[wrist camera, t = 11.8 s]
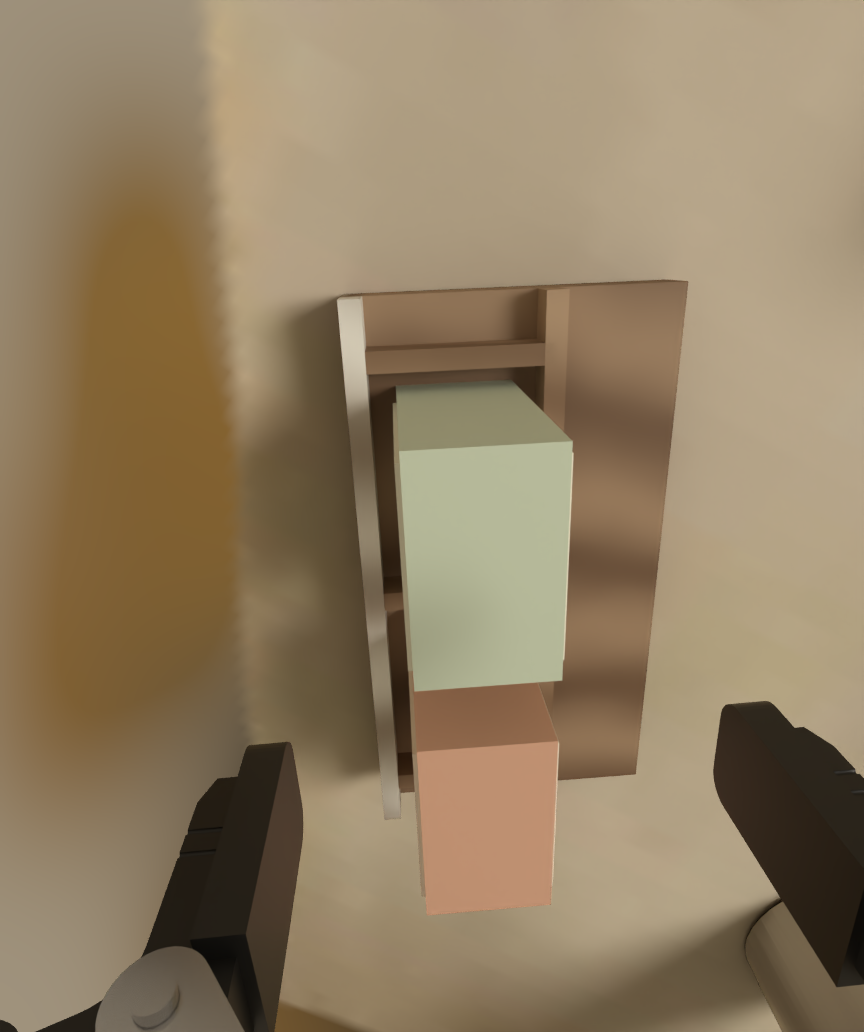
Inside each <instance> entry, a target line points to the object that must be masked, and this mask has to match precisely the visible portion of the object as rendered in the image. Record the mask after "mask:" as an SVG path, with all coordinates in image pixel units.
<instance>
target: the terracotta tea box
mask: <svg viewBox="0 0 864 1032" xmlns="http://www.w3.org/2000/svg"><path fill="white" fill-rule="evenodd" d="M408 672H409V694H410V716H411V737H412V758H413V773H414V788H415V803H416V818H417V833H418V849H419V864H420V879H421V894H422V897H423V896H426V909H427V915H437V914H448V913H460V912H471V911H483V910H494V909H505V908H517V907H528V906H540V905H551V888H552V885H553V866H554V845H555V823H556V801H557V780H558V758H559V741H558V738H557V735H556V733H555V730H554V727H553V724H552V721H551V718H550V715H549V713H548V710H547V707H546V704H545V701H544V698H543V695H542V693H541V690H540V687H539V684H538V682H536V683H522V684H509V685H495V686H482V687H468V688H455V689H441V690H428V691H414V679H413V671H408Z"/></svg>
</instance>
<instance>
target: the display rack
mask: <svg viewBox="0 0 864 1032" xmlns="http://www.w3.org/2000/svg"><path fill="white" fill-rule="evenodd" d="M687 289H688V281H677V280H649V281H627V282H604V283H582V284H560V285H538V286H516V287H494V288H472V289H450V290H428V291H405V292H383V293H361V294H344V295H342V296H341V297H340V298H339V299H337V306H338V317H339V328H340V339H341V350H342V361H343V371H344V382H345V393H346V404H347V415H348V426H349V437H350V448H351V459H352V470H353V481H354V491H355V502H356V513H357V524H358V535H359V546H360V557H361V568H362V579H363V590H364V601H365V611H366V622H367V633H368V644H369V655H370V666H371V677H372V688H373V699H374V710H375V720H376V731H377V742H378V753H379V764H380V775H381V786H382V797H383V808H384V819H385V820H388V819H401V793H405V792H415V788H414V773H413V758H412V737H411V716H410V694H409V672H408V662H407V647H406V632H405V618H404V603H403V588H402V573H401V558H400V543H399V528H398V513H397V499H396V484H395V469H394V436H393V403H397V401H396V386H401V385H420V384H439V383H457V382H476V381H495V380H512V381H513V382H514V383H515V384H516V385H517V386H518V387H519V388H520V389H521V390H522V391H523V392H524V393H525V394H526V395H527V396H528V397H529V398H530V399H531V400H532V401H533V402H534V403H535V404H536V405H537V406H538V407H539V408H540V409H541V410H542V411H543V412H544V413H545V414H546V415H547V416H548V417H549V418H550V419H551V420H552V421H553V422H554V423H555V424H556V425H557V426H558V427H559V428H560V429H561V430H562V431H563V432H564V433H565V434H566V435H567V436H568V437H569V438H570V439H571V440H572V441H573V447H572V452H573V453H574V455H573V477H572V500H571V522H570V544H569V566H568V589H567V611H566V633H565V655H564V660H563V674H562V681H549V682H538V684H539V687H540V690H541V693H542V695H543V698H544V701H545V704H546V707H547V710H548V713H549V715H550V718H551V721H552V724H553V727H554V730H555V733H556V735H557V738H558V741H559V758H558V780H569V779H582V778H595V777H607V776H620V775H633V774H636V766H637V757H638V747H639V738H640V729H641V719H642V710H643V700H644V691H645V682H646V672H647V663H648V654H649V644H650V635H651V626H652V616H653V607H654V598H655V588H656V579H657V569H658V560H659V551H660V541H661V532H662V523H663V513H664V504H665V495H666V485H667V476H668V466H669V457H670V448H671V438H672V429H673V420H674V410H675V401H676V392H677V382H678V373H679V364H680V354H681V345H682V335H683V326H684V317H685V307H686V298H687Z"/></svg>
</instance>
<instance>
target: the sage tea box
mask: <svg viewBox="0 0 864 1032" xmlns="http://www.w3.org/2000/svg"><path fill="white" fill-rule="evenodd" d="M396 401H397V403H393V436H394V469H395V484H396V499H397V513H398V528H399V543H400V558H401V573H402V588H403V603H404V618H405V632H406V647H407V662H408V671H413V679H414V691H428V690H441V689H455V688H468V687H482V686H495V685H509V684H522V683H536V682H549V681H562V674H563V660H564V655H565V633H566V611H567V589H568V566H569V544H570V522H571V500H572V477H573V455H574V453H573V452H572V447H573V441H572V440H571V439H570V438H569V437H568V436H567V435H566V434H565V433H564V432H563V431H562V430H561V429H560V428H559V427H558V426H557V425H556V424H555V423H554V422H553V421H552V420H551V419H550V418H549V417H548V416H547V415H546V414H545V413H544V412H543V411H542V410H541V409H540V408H539V407H538V406H537V405H536V404H535V403H534V402H533V401H532V400H531V399H530V398H529V397H528V396H527V395H526V394H525V393H524V392H523V391H522V390H521V389H520V388H519V387H518V386H517V385H516V384H515V383H514V382H513V381H512V380H495V381H476V382H457V383H439V384H420V385H401V386H396Z"/></svg>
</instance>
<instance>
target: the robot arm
mask: <svg viewBox="0 0 864 1032" xmlns="http://www.w3.org/2000/svg"><path fill="white" fill-rule="evenodd" d="M713 774H714V782H715V787H716V790H717V794H718V796H719V799H720V801H721V803H722V805H723V806H724V808H725V810H726V811H727V813H728V814H729V816H730V818H731V819H732V821H733V822H734V824H735V826H736V827H737V829H738V830H739V832H740V834H741V835H742V837H743V838H744V840H745V842H746V843H747V845H748V846H749V848H750V850H751V851H752V853H753V854H754V856H755V858H756V859H757V861H758V862H759V864H760V866H761V867H762V869H763V870H764V872H765V874H766V875H767V877H768V878H769V880H770V882H771V883H772V885H773V886H774V888H775V890H776V891H777V893H778V894H779V896H780V898H781V899H782V901H783V902H781V903H779V904H778V905H776V906H775V907H773V908H772V909H770V910H769V911H768V912H767V913H766V914H764V915H763V916H762V917H761V918H760V919H759V920H758V922H757V923H756V924H755V925H754V927H753V928H752V930H751V932H750V934H749V936H748V938H747V941H746V946H745V951H746V958H747V960H748V962H749V964H750V966H751V968H752V970H753V972H754V974H755V976H756V978H757V980H758V985H759V987H760V989H761V991H762V993H763V995H764V997H765V999H766V1001H767V1003H768V1005H769V1007H770V1009H771V1010H772V1012H773V1014H774V1016H775V1018H776V1020H777V1022H778V1024H779V1026H780V1028H781V1030H782V1032H864V778H863V777H862V776H861V775H860V774H856V772H855V768H854V767H853V766H852V765H851V764H850V763H849V762H848V761H847V760H846V759H845V758H844V757H843V756H842V755H841V753H840V752H839V751H838V750H837V749H836V748H835V747H834V746H833V745H831V744H830V743H828V742H826V741H825V740H823V739H822V738H820V737H819V736H817V735H815V734H814V733H812V732H811V731H809V730H808V729H806V728H804V727H799V728H794V727H793V726H792V725H791V723H790V722H789V721H788V720H787V719H786V718H785V717H784V716H783V714H782V713H781V712H780V711H779V710H778V709H777V708H776V707H775V706H774V705H773V704H772V703H770V702H768V701H761V702H749V703H738V704H728V705H725V706H724V708H723V709H722V712H721V718H720V725H719V732H718V739H717V746H716V754H715V761H714V769H713ZM302 840H303V809H302V801H301V796H300V790H299V784H298V778H297V772H296V766H295V760H294V754H293V749H292V745H291V743H290V742H282V743H271V744H259V745H249V746H248V747H247V748H246V751H245V754H244V757H243V760H242V764H241V767H240V771H239V774H238V777H230V778H219V779H217V780H216V781H215V782H214V784H213V785H212V786H211V787H210V788H209V789H208V791H207V792H206V793H205V794H204V795H203V797H202V798H201V799H200V800H199V801H198V803H197V805H196V808H195V811H194V814H193V817H192V820H191V822H190V825H189V828H188V835H186V836H185V839H184V842H183V845H182V847H181V850H180V857H179V858H178V859H177V861H176V864H175V867H174V870H173V873H172V876H171V879H170V881H169V884H168V887H167V890H166V892H165V895H164V898H163V901H162V904H161V907H160V909H159V912H158V915H157V918H156V921H155V923H154V926H153V929H152V932H151V935H150V937H149V940H148V943H147V946H146V948H145V950H144V953H143V955H142V957H141V958H140V959H138V960H137V961H136V962H135V963H133V964H132V965H130V966H129V967H128V968H127V969H126V970H125V971H124V972H123V973H122V974H120V976H119V977H118V978H117V979H116V980H115V982H114V983H113V984H112V985H111V987H110V988H109V990H108V991H107V993H106V995H105V997H104V999H103V1000H102V1001H100V1002H99V1003H97V1004H95V1005H94V1006H92V1007H91V1008H89V1009H87V1010H85V1011H83V1012H81V1013H78V1014H76V1015H74V1016H71V1017H69V1018H67V1019H64V1020H62V1021H60V1022H57V1023H55V1024H53V1025H50V1026H48V1027H46V1028H43V1029H41V1030H39V1031H36V1032H274V1029H275V1023H276V1016H277V1009H278V1003H279V996H280V990H281V983H282V976H283V969H284V963H285V956H286V949H287V942H288V935H289V929H290V922H291V915H292V908H293V902H294V895H295V888H296V881H297V875H298V868H299V861H300V854H301V848H302ZM0 1032H18V1031H17V1030H16V1028H15V1027H14V1026H12V1025H11V1024H10V1023H8V1022H5V1021H3V1020H0Z"/></svg>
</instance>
